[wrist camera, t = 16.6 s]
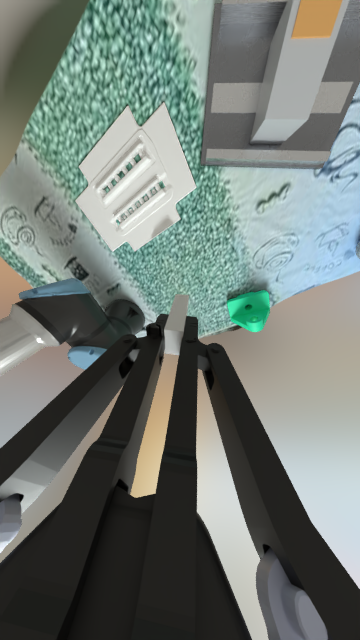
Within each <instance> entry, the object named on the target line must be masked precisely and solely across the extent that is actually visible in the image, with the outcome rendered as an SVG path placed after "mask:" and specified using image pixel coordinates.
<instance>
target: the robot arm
mask: <svg viewBox="0 0 360 640" xmlns="http://www.w3.org/2000/svg"><path fill="white" fill-rule="evenodd" d="M19 297H20V299H22V301H20V302H18V303H15V304H13V305H12V308H11V312H10V314H9V316H7V317H5V318H3V319H1V320H0V376H2V375H3V374H5V373H6V372H8V371H9V370H10V369H12V368H14V367H15V366H17V365H18V364H19V363H21V362H23V361H24V360H26V359H27V358H29V357H30V356H32V355H33V354H35V353H36V352H38V351H39V350H41V349H42V348H44V347H46V346H59V345H61V344H62V343H63V342H65V341H66V342H67V343H68V344H69V345H70V346H71V347H72V348H71V349H70V350H69V352H68V358H69V360H70V361H71V362H72V363H73V364H74V365H76V366H78V367H80V368H82V369H85V371H84V372H83V373H81V374H80V375H79V376H78V377H77V378H76V379H75V380H74V381H73V382H72V383H71V384H70V385H69V386H68V387H66V388H65V389H64V390H63V391H62V392H61V393H60V394H59V395H58V396H57V397H56V398H55V399H53V400H52V401H51V402H50V403H49V404H48V405H47V406H46V407H45V408H44V409H43V410H42V411H40V412H39V413H38V414H37V415H36V416H35V417H34V418H33V419H32V420H31V421H30V422H29V423H27V424H26V426H24V427H23V428H22V429H21V430H20V431H19V432H18V433H17V434H16V435H15V436H13V437H12V438H11V439H10V440H9V441H8V442H7V443H6V444H5V445H4V446H3V447H2V448H0V553H1V552H2V550H3V549H4V548H5V547H6V545H7V544H9V543H10V542H11V541H12V540H13V539H14V538H15V536H16V535H17V533H18V531H19V529H20V527H21V522H22V520H21V514H22V513H23V512H24V511H25V510H26V509H27V508H28V507H29V506H30V505H31V504H32V503H33V502H34V501H35V500H36V498H37V497H38V496H39V495H40V494H41V493H42V491H44V489H45V488H46V487H47V486H48V485H49V483H50V482H51V481H52V480H53V478H54V477H55V476H56V474H57V473H58V472H59V471H60V469H61V468H62V466H63V465H64V464H65V463H66V461H67V460H68V458H69V457H70V456H71V455H72V453H73V452H74V451H75V449H76V448H77V446H78V445H79V444H80V442H81V441H82V439H83V438H84V437H85V436H86V434H87V433H88V432H89V430H90V429H91V427H92V426H93V425H94V424H95V422H96V421H97V420H98V418H99V417H100V416H101V414H102V413H103V412H104V410H105V409H106V407H107V406H108V405H109V403H110V402H111V401H112V399H113V398H114V397H115V395H116V394H117V393H118V391H119V390H120V389H121V387H122V386H123V385H124V386H123V388H122V390H121V392H120V395H119V396H118V398H117V401H116V403H115V405H114V407H113V409H112V412H111V414H110V416H109V418H108V420H107V422H106V424H105V427H104V429H103V431H102V433H101V435H100V437H99V438H98V440H97V441H95V442H94V443H93V444H92V445H91V446H90V448H89V449H88V450H87V452H86V454H85V456H84V458H83V460H82V462H81V464H80V466H79V468H78V470H77V472H76V474H75V476H74V478H73V480H72V482H71V484H70V486H69V488H68V490H67V492H66V494H65V496H64V498H63V500H62V502H61V503H60V504H59V505H58V506H57V507H56V508H55V509H54V510H53V511H52V512H51V513H50V514H49V515H48V516H47V517H46V518H45V519H44V520H43V521H42V522H41V523H40V524H39V525H38V526H37V527H36V528H35V529H34V530H33V531H32V532H31V533H30V534H29V535H28V536H27V537H26V538H25V539H24V540H23V541H22V542H21V543H20V544H19V545H18V546H17V547H16V548H15V549H14V550H13V551H12V552H11V553H10V554H9V555H8V556H7V557H6V558H5V559H4V560H3V561H2V562H1V563H0V640H252V639H251V636H250V633H249V631H248V629H247V626H246V623H245V621H244V618H243V616H242V613H241V611H240V609H239V606H238V604H237V601H236V599H235V596H234V594H233V591H232V589H231V586H230V584H229V581H228V579H227V576H226V574H225V571H224V569H223V566H222V564H221V561H220V559H219V556H218V554H217V551H216V549H215V546H214V544H213V541H212V539H211V536H210V534H209V532H208V529H207V528H206V526H205V524H204V522H203V521H202V519H201V517H200V516H199V514H198V513H197V460H196V426H197V425H196V423H197V377H198V376H197V375H198V369H201V370H202V371H203V376H204V379H205V382H206V386H207V389H208V393H209V397H210V400H211V404H212V407H213V411H214V414H215V418H216V421H217V425H218V428H219V432H220V435H221V439H222V442H223V446H224V449H225V453H226V456H227V460H228V463H229V467H230V471H231V474H232V477H233V481H234V485H235V488H236V491H237V495H238V499H239V502H240V505H241V509H242V512H243V515H244V518H245V522H246V524H247V528H248V530H249V533H250V535H251V538H252V541H253V543H254V546H255V548H256V551H257V553H258V555H259V557H260V559H261V560H260V562H259V564H258V567H257V572H256V589H257V595H258V600H259V603H260V607H261V610H262V613H263V617H264V620H265V623H266V627H267V632H268V638H269V640H360V589H359V588H358V586H357V585H356V584H355V582H354V581H353V579H352V578H351V577H350V575H349V574H348V573H347V571H346V570H345V568H344V567H343V566H342V564H341V563H340V561H339V560H338V559H337V557H336V556H335V554H334V553H333V552H332V550H331V549H330V547H329V546H328V545H327V543H326V542H325V541H324V539H323V538H322V536H321V535H320V534H319V532H318V531H317V529H316V528H315V527H314V525H313V524H312V522H311V521H310V519H309V517H308V515H307V513H306V511H305V509H304V507H303V505H302V503H301V501H300V499H299V497H298V495H297V493H296V491H295V489H294V487H293V485H292V483H291V481H290V479H289V477H288V475H287V473H286V471H285V469H284V467H283V465H282V463H281V461H280V459H279V457H278V455H277V453H276V451H275V449H274V447H273V445H272V443H271V441H270V439H269V437H268V435H267V433H266V431H265V429H264V427H263V425H262V423H261V421H260V419H259V417H258V415H257V413H256V411H255V409H254V407H253V405H252V403H251V401H250V399H249V397H248V395H247V393H246V391H245V389H244V387H243V385H242V383H241V382H240V379H239V377H238V376H237V373H236V371H235V369H234V367H233V365H232V363H231V361H230V360H229V357H228V356H227V354H226V351H225V349H224V348H223V347H222V346H221V345H219V344H217V343H211V344H209V345H205V344H203V343H201V342H200V341H199V340H198V319H197V318H196V317H190V316H187V311H188V300H189V295H181V294H176V295H175V298H174V301H173V304H172V307H171V310H170V313H169V315H168V314H160V315H159V316H158V318H157V320H156V322H155V323H151V324H149V325H147V326H146V331H147V336H145V337H141V338H136V336H135V334H137V333H138V332H140V331H141V329H142V328H143V326H144V323H145V317H144V314H143V312H142V311H141V309H140V308H139V307H138V306H137V305H135V304H134V303H132V302H130V301H127V300H115V301H113V302H111V303H110V304H109V305H108V306H107V307H106V309H105V312H104V311H103V310H102V308H101V307H100V306H99V304H98V303H97V301H96V300H95V299H94V297H93V296H92V294H91V292H90V291H89V290H88V289H87V288H86V287H85V286H84V284H83V283H82V282H81V281H80V280H78V279H75V278H70V279H66V280H62V281H58V282H54V283H51V284H47V285H44V286H40V287H37V288H34V289H31V290H27V291H23V292H21V293H19ZM164 351H165V354H175V355H179V359H178V365H177V371H176V378H175V384H174V390H173V397H172V402H171V409H170V415H169V421H168V428H167V434H166V440H165V446H164V451H163V455H162V459H161V465H160V471H159V477H158V483H157V489H156V494H152V495H147V496H143V497H138V498H134V497H133V496H131V495H130V492H131V488H132V484H133V480H134V476H135V471H136V464H137V458H138V453H139V450H140V445H141V442H142V438H143V434H144V431H145V427H146V422H147V419H148V416H149V412H150V408H151V404H152V400H153V397H154V393H155V389H156V385H157V381H158V378H159V374H160V370H161V366H162V362H163V358H164V357H163V356H164Z"/></svg>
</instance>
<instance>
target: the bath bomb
mask: <svg viewBox="0 0 360 640" xmlns="http://www.w3.org/2000/svg"><path fill="white" fill-rule="evenodd" d="M356 255H357V257H358V258H359V259H360V241H359V242H358V244H357V247H356Z"/></svg>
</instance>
